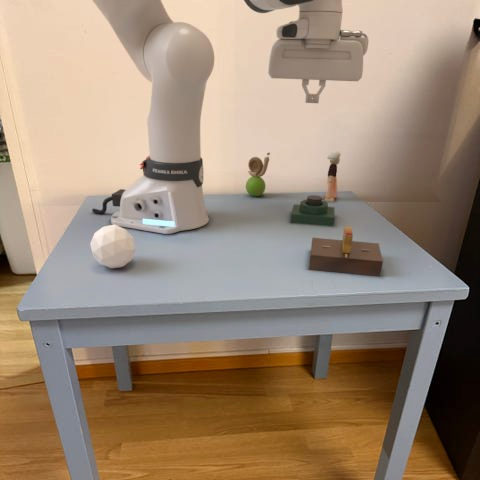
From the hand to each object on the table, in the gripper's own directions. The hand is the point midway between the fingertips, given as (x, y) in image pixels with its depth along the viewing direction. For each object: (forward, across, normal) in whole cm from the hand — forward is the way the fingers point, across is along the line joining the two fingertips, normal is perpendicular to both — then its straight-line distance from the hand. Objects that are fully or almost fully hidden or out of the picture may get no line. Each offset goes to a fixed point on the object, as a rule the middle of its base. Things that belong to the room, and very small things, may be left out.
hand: (311, 102), depth 102 cm
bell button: (+22, -3, +5) cm, 22 cm away
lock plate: (+25, -10, +30) cm, 40 cm away
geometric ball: (+25, +32, +41) cm, 58 cm away
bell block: (+25, -3, +5) cm, 26 cm away
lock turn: (+22, -10, +30) cm, 39 cm away
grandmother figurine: (+25, -7, -14) cm, 30 cm away
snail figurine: (+25, +13, -11) cm, 30 cm away
